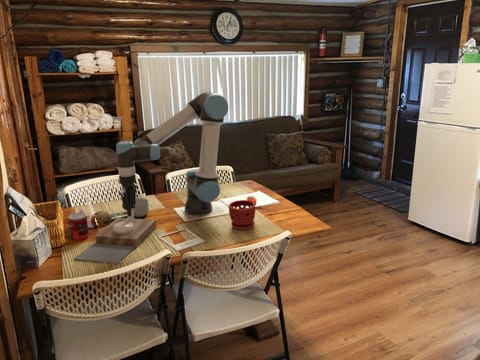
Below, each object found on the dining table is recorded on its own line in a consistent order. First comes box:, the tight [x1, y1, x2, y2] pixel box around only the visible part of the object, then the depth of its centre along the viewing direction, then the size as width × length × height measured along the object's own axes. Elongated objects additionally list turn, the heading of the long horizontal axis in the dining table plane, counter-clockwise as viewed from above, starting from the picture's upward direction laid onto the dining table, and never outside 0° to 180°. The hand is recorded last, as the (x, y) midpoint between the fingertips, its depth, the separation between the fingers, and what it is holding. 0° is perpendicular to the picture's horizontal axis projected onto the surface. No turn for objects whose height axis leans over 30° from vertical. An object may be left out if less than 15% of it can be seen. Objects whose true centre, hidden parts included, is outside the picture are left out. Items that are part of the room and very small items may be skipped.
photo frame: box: [158, 228, 206, 252], centre depth 181 cm, size 15×1×18 cm
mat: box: [73, 242, 135, 265], centre depth 168 cm, size 20×15×1 cm
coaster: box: [113, 222, 134, 234], centre depth 182 cm, size 9×9×2 cm
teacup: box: [121, 197, 150, 218], centre depth 210 cm, size 14×11×8 cm
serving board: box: [94, 217, 157, 248], centre depth 186 cm, size 20×22×4 cm
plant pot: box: [228, 199, 256, 231], centre depth 194 cm, size 13×13×12 cm
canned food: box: [67, 212, 90, 242], centre depth 183 cm, size 8×8×11 cm
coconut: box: [90, 210, 113, 227], centre depth 200 cm, size 10×10×8 cm
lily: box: [77, 207, 95, 229], centre depth 192 cm, size 12×12×10 cm
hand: (131, 221), depth 190 cm, fingers closed
